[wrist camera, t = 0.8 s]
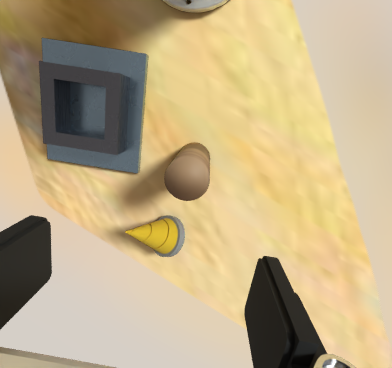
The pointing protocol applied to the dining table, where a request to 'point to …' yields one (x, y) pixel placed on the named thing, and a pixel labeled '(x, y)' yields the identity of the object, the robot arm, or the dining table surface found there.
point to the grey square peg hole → (93, 104)
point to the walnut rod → (189, 172)
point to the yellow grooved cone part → (161, 235)
